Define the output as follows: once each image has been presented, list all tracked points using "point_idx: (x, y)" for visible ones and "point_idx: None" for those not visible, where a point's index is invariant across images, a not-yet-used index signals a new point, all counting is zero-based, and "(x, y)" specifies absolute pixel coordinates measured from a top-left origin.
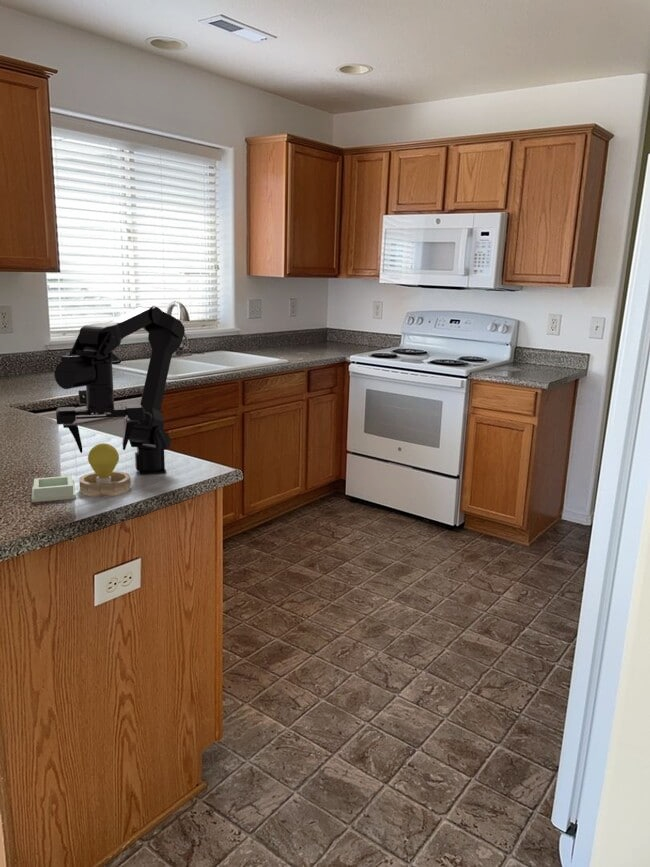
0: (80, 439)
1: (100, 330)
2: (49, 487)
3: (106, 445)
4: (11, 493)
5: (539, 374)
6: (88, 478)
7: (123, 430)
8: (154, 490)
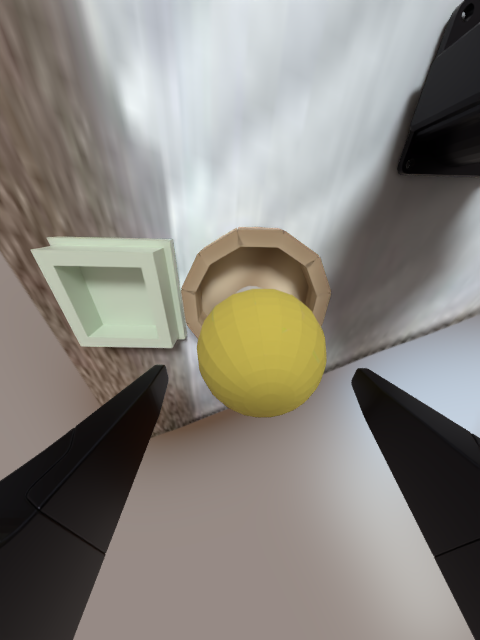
0: (134, 477)
1: None
2: (117, 345)
3: (280, 412)
4: (9, 250)
5: None
6: (209, 265)
7: (478, 474)
8: (353, 333)
